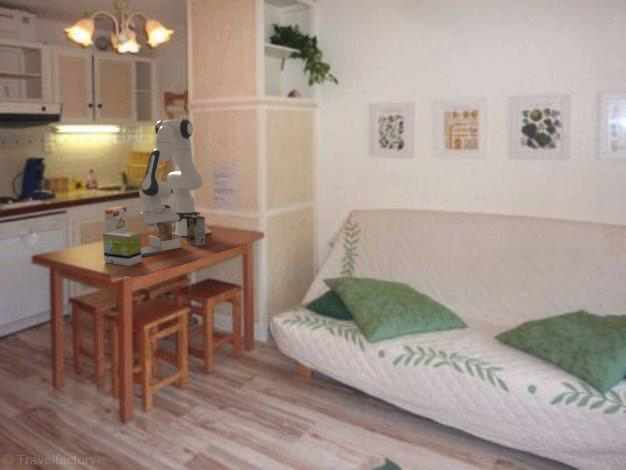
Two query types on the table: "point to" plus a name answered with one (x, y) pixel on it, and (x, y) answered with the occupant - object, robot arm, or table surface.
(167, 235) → the walnut box
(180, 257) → the table surface
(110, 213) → the cracker box
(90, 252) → the table surface
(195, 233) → the coffee box
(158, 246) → the white open bin
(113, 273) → the table surface
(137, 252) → the tea box
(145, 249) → the plate
